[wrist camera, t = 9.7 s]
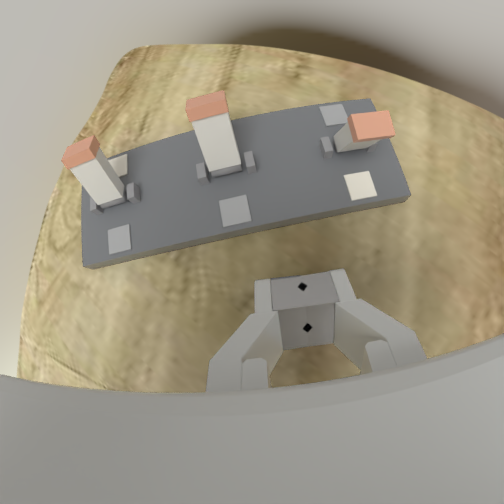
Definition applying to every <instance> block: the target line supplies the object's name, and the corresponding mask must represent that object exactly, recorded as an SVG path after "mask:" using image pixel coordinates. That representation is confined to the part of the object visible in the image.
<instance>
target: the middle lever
mask: <svg viewBox="0 0 504 504" xmlns="http://www.w3.org/2000/svg"><path fill="white" fill-rule="evenodd" d="M185 110H186V113H187V116H188V118H189V121H190V122H192V125H193V128H194V130H195V133H196V136H197V139H198V142H199V145H200V147H201V150H202V153H203V156H204V159H205V161H206V164H207V167H208V170H209V172H210V171H211V174H212V177H217V176H222V175H226V174H230V173H234V172H239V171H242V167H241V159H240V154H239V150H238V146H237V142H236V139H235V135H234V131H233V127H232V124H231V120H230V116H229V111H228V105H227V100H226V96H225V92H224V90H223V91H219V92H214V93H211V94H207V95H203V96H199V97H196V98H192V99H188V100H187V102H186V109H185Z"/></svg>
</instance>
